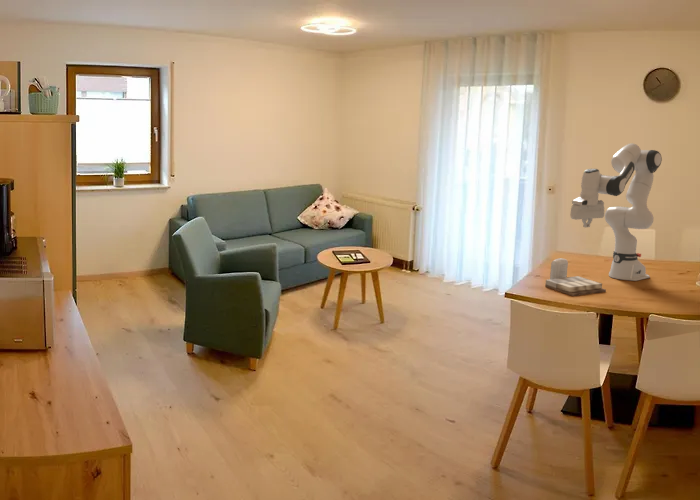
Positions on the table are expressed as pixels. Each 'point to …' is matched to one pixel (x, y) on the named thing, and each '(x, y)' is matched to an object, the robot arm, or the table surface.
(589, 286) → the plank
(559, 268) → the grey arched block
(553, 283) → the floor section
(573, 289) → the plank
